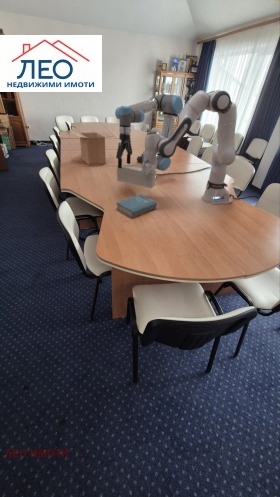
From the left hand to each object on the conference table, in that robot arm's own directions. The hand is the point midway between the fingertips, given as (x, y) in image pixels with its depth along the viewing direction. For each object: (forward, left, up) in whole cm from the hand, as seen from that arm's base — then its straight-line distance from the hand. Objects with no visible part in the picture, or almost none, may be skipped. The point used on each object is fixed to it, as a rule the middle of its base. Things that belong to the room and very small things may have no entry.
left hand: (124, 165), depth 161 cm
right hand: (-17, +10, -5) cm, 20 cm away
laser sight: (-29, -84, -21) cm, 91 cm away
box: (+29, -84, -21) cm, 91 cm away
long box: (-9, +5, -11) cm, 15 cm away
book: (-8, +28, -21) cm, 36 cm away
